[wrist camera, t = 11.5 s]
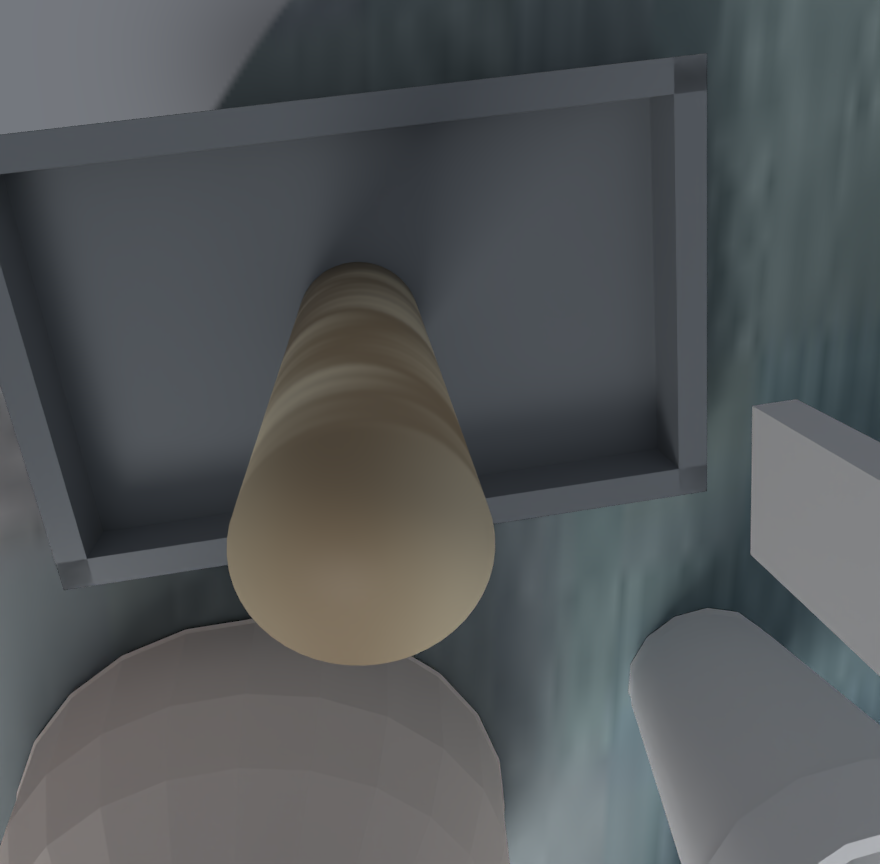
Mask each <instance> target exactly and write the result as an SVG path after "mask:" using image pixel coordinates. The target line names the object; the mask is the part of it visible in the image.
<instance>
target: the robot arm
mask: <svg viewBox="0 0 880 864" xmlns="http://www.w3.org/2000/svg"><path fill="white" fill-rule="evenodd" d="M750 554H751V555H752V556H753V557H754V558H755V559H756V560H757V561H758V562H759V563H760V564H761V565H762V566H763V567H764V568H765V569H766V570H768V571H769V572H770V573H771V574H772V575H773V576H774V577H775V578H776V579H777V580H778V581H779V582H780V583H781V584H782V585H783V586H785V587H786V588H787V589H788V590H789V591H790V592H791V593H792V594H793V595H794V596H795V597H796V598H797V599H798V600H799V601H800V602H802V603H803V604H804V605H805V606H806V607H807V608H808V609H809V610H810V611H811V612H812V613H813V614H814V615H815V616H816V617H817V618H819V619H820V620H821V621H822V622H823V623H824V624H825V625H826V626H827V627H828V628H829V629H830V630H831V631H832V632H833V633H834V634H836V635H837V636H838V637H839V638H840V639H841V640H842V641H843V642H844V643H845V644H846V645H847V646H848V647H849V648H850V649H851V650H853V651H854V652H855V653H856V654H857V655H858V656H859V657H860V658H861V659H862V660H863V661H864V662H865V663H866V664H867V665H868V666H870V667H871V668H872V669H873V670H874V671H875V672H876V673H877V674H878V675H879V676H880V442H878V441H876V440H874V439H872V438H871V437H869V436H867V435H865V434H863V433H861V432H859V431H857V430H855V429H853V428H851V427H849V426H847V425H845V424H844V423H842V422H840V421H838V420H836V419H834V418H832V417H830V416H828V415H826V414H824V413H822V412H820V411H818V410H817V409H815V408H813V407H811V406H809V405H807V404H805V403H803V402H801V401H799V400H797V399H794V400H788V401H781V402H775V403H768V404H761V405H755V406H752V477H751V551H750Z"/></svg>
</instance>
